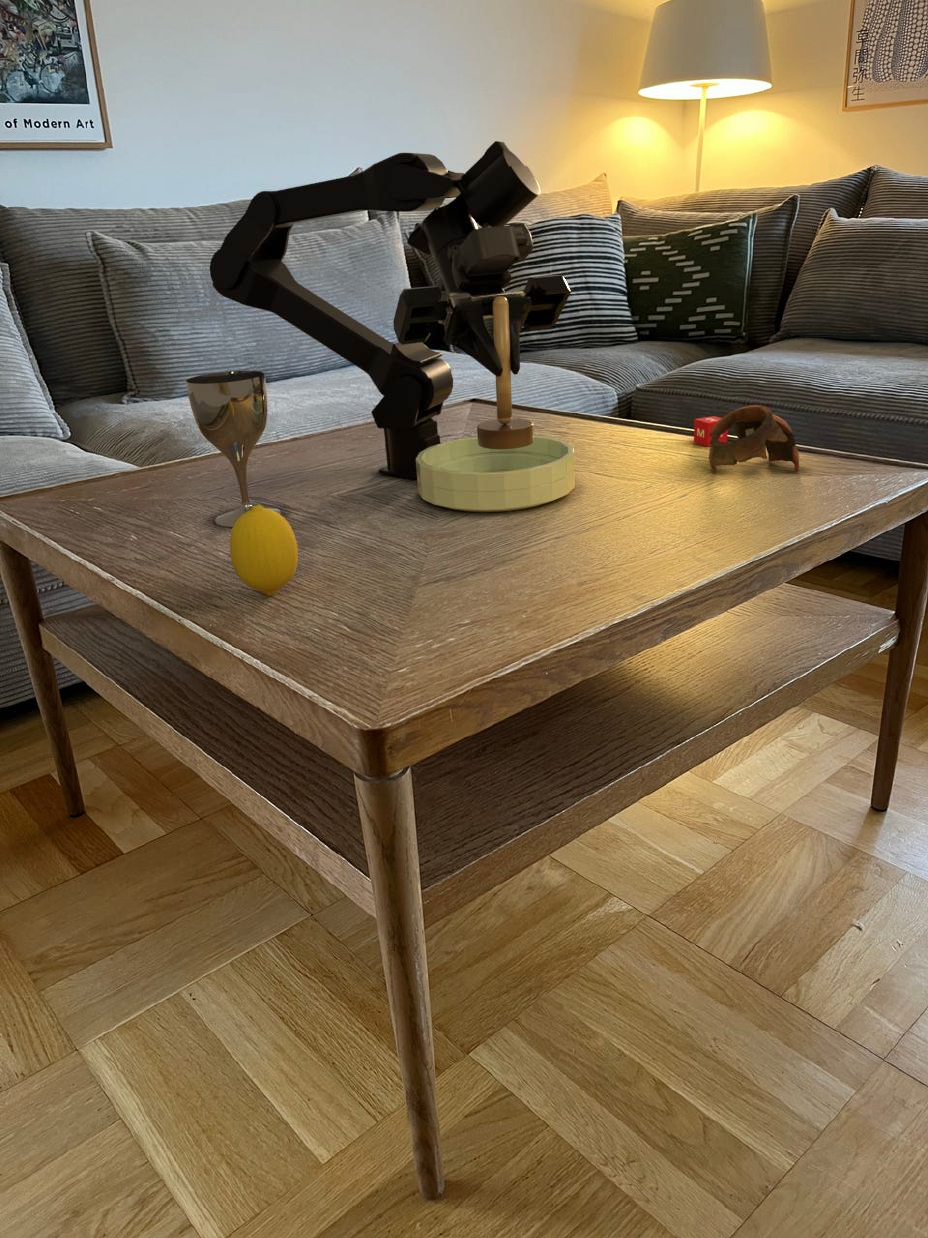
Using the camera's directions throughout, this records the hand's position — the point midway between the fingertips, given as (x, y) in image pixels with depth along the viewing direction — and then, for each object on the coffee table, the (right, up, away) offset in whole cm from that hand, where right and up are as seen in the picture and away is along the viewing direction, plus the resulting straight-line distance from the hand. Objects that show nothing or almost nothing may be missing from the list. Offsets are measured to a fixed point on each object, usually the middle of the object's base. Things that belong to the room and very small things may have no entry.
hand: (508, 372), depth 94 cm
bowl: (-1, -11, +8) cm, 14 cm away
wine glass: (-28, -14, +6) cm, 32 cm away
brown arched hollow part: (+29, -8, +11) cm, 32 cm away
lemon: (-21, -24, -16) cm, 36 cm away
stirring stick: (0, -6, +4) cm, 8 cm away
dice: (+27, -3, +23) cm, 36 cm away
